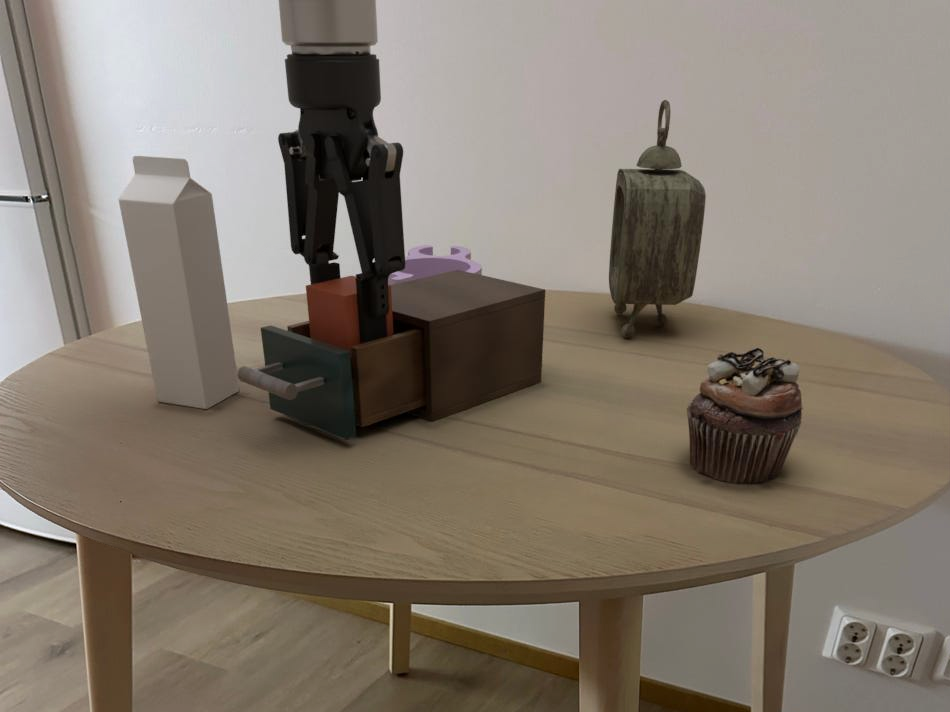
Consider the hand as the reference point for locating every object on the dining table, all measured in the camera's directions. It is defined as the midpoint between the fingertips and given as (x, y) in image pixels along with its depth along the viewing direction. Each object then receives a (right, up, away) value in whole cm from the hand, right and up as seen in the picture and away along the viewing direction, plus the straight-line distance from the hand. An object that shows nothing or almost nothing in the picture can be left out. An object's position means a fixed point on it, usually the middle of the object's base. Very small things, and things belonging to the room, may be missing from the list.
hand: (352, 342), depth 87 cm
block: (0, 0, 0) cm, 0 cm away
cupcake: (+35, -13, -5) cm, 37 cm away
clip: (+6, +14, +34) cm, 37 cm away
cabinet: (+8, -1, +12) cm, 14 cm away
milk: (-17, -3, +8) cm, 19 cm away
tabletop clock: (+33, +12, +31) cm, 47 cm away
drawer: (0, -5, +3) cm, 6 cm away
